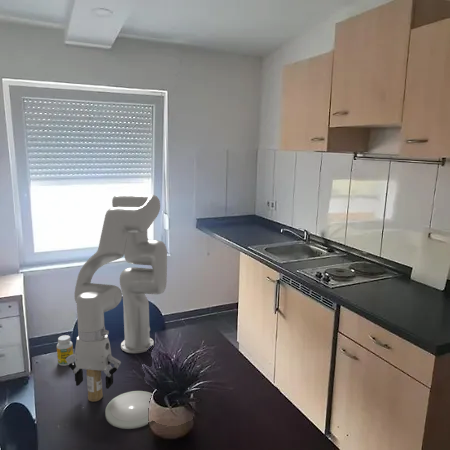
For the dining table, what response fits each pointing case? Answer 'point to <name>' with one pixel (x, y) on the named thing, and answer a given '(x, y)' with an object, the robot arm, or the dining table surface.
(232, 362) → the dining table surface
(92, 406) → the dining table surface
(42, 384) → the dining table surface
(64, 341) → the supplement bottle
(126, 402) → the dish
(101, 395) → the sprinkles bottle
